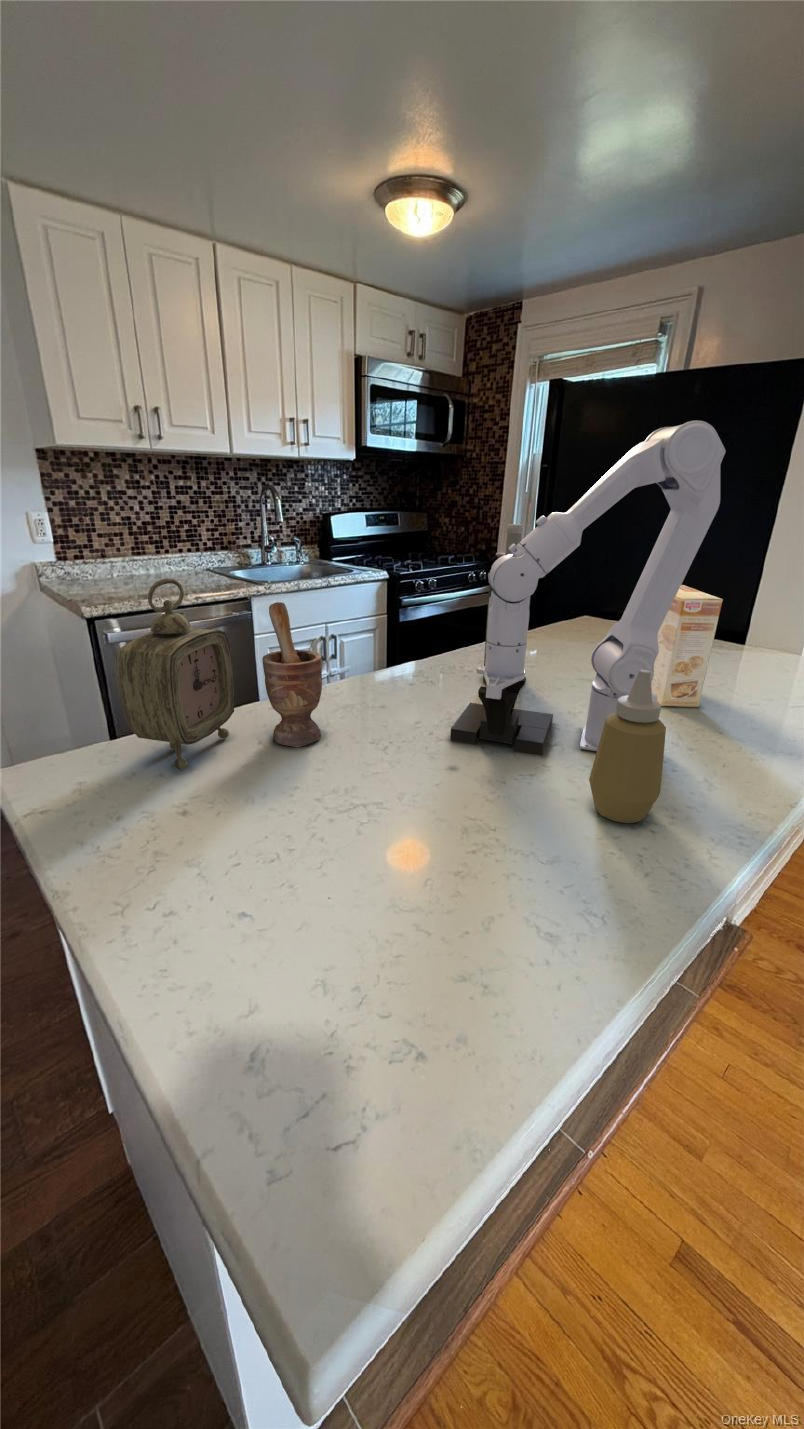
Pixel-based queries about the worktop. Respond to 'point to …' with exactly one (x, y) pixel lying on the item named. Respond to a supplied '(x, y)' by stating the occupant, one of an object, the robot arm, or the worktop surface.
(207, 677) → the tabletop clock
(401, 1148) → the worktop surface
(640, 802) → the squeeze bottle
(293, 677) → the mortar and pestle
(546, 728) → the base pad
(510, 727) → the small dark rectangular block
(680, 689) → the coffeecake box
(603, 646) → the robot arm
